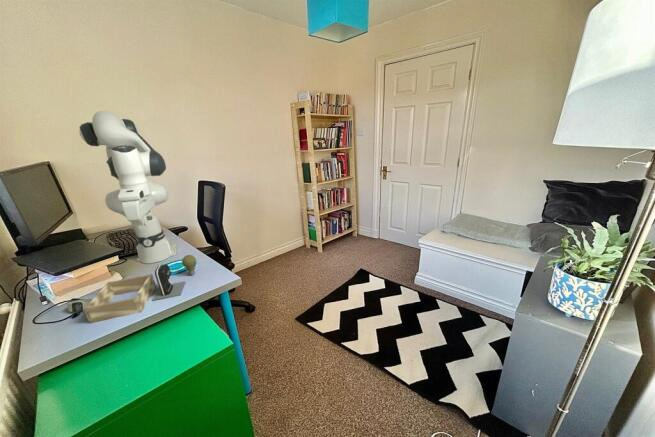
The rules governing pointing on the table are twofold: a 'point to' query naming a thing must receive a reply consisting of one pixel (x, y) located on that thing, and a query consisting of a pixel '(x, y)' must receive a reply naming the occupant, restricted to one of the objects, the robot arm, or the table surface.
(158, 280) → the battery charger
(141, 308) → the box
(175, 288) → the pad
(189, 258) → the light bulb
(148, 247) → the robot arm
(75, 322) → the table surface
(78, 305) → the wristwatch
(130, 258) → the table surface
